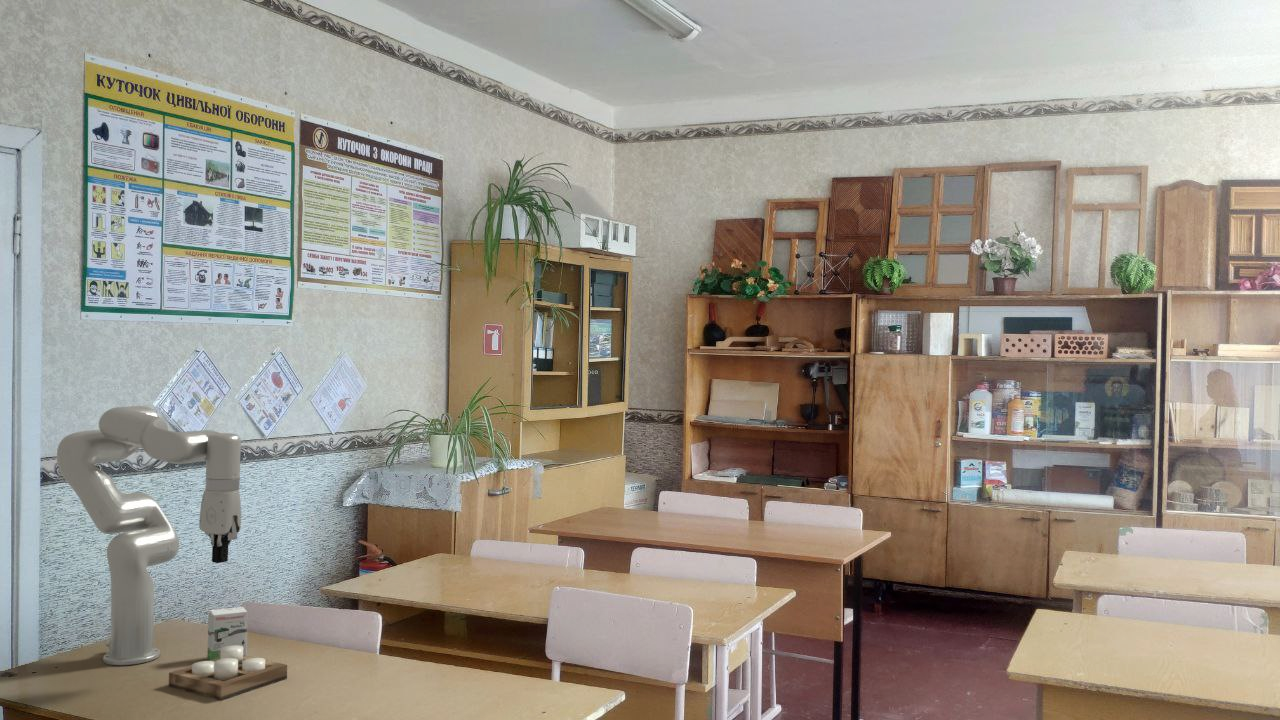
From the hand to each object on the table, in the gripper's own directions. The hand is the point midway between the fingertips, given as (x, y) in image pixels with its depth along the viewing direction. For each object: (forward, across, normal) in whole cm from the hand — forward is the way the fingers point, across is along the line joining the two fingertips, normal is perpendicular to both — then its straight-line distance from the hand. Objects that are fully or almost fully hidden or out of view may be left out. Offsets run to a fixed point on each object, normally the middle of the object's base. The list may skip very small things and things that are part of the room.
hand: (219, 561), depth 243 cm
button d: (+25, +14, 0) cm, 28 cm away
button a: (+25, +7, -8) cm, 27 cm away
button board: (+26, +10, -4) cm, 28 cm away
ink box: (+27, -7, +8) cm, 29 cm away
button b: (+23, +6, 0) cm, 24 cm away
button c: (+23, +14, -8) cm, 28 cm away
